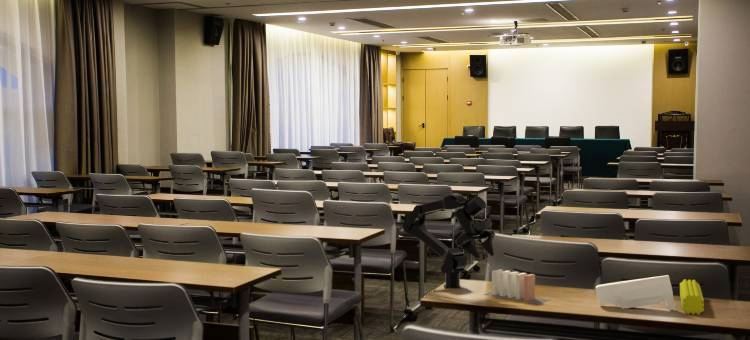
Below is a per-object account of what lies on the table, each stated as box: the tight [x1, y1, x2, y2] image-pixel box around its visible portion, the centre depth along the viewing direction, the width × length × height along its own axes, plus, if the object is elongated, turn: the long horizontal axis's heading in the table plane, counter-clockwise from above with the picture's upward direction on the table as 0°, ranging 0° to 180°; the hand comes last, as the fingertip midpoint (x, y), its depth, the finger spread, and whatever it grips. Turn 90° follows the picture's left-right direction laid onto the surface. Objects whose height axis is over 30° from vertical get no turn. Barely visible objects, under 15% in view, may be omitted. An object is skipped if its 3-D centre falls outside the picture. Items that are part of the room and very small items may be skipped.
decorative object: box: [679, 279, 705, 316], centre depth 275 cm, size 7×33×7 cm, turn 160°
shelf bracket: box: [595, 274, 677, 311], centre depth 269 cm, size 6×25×13 cm, turn 77°
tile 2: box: [500, 270, 511, 296], centre depth 287 cm, size 2×5×9 cm, turn 138°
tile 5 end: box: [524, 273, 536, 301], centre depth 280 cm, size 2×5×9 cm, turn 138°
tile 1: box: [491, 268, 504, 295], centre depth 290 cm, size 2×5×9 cm, turn 138°
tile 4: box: [516, 272, 528, 299], centre depth 283 cm, size 2×5×9 cm, turn 137°
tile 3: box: [508, 271, 520, 298], centre depth 285 cm, size 2×5×9 cm, turn 138°
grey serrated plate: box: [482, 291, 551, 305], centre depth 284 cm, size 24×9×1 cm, turn 48°
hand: (486, 256), depth 292 cm, fingers open, 9 cm apart
